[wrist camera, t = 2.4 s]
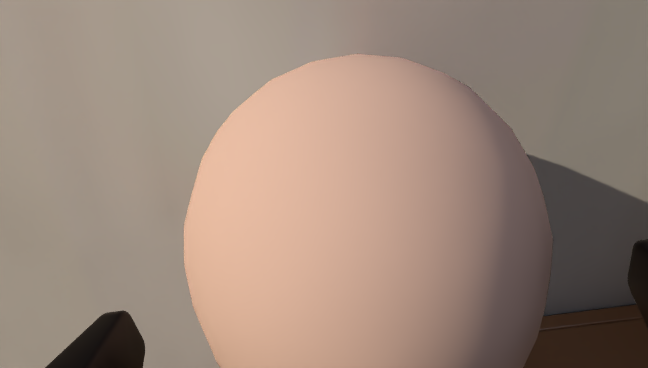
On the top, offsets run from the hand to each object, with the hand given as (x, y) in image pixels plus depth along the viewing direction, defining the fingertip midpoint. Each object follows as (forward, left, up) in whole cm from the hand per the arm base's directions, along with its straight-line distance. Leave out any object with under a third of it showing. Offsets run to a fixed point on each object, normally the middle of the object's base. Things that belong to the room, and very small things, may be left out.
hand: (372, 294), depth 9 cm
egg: (0, 0, -6) cm, 6 cm away
